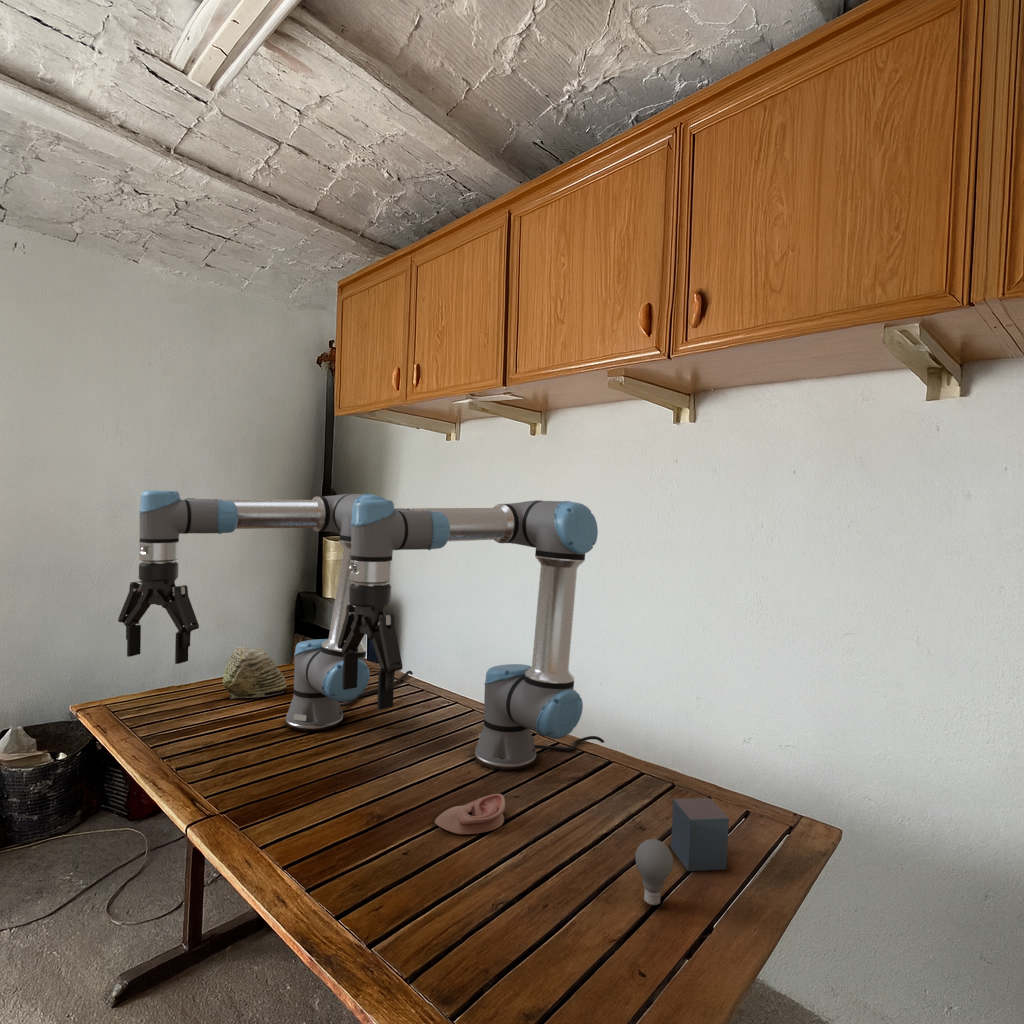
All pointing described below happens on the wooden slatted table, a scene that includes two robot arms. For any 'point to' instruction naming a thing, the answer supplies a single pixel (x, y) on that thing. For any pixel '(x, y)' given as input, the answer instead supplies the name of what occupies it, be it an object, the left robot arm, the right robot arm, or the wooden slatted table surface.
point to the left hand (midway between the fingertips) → (157, 658)
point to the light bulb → (653, 868)
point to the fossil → (252, 674)
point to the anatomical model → (474, 816)
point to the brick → (699, 834)
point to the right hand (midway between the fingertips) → (366, 697)
